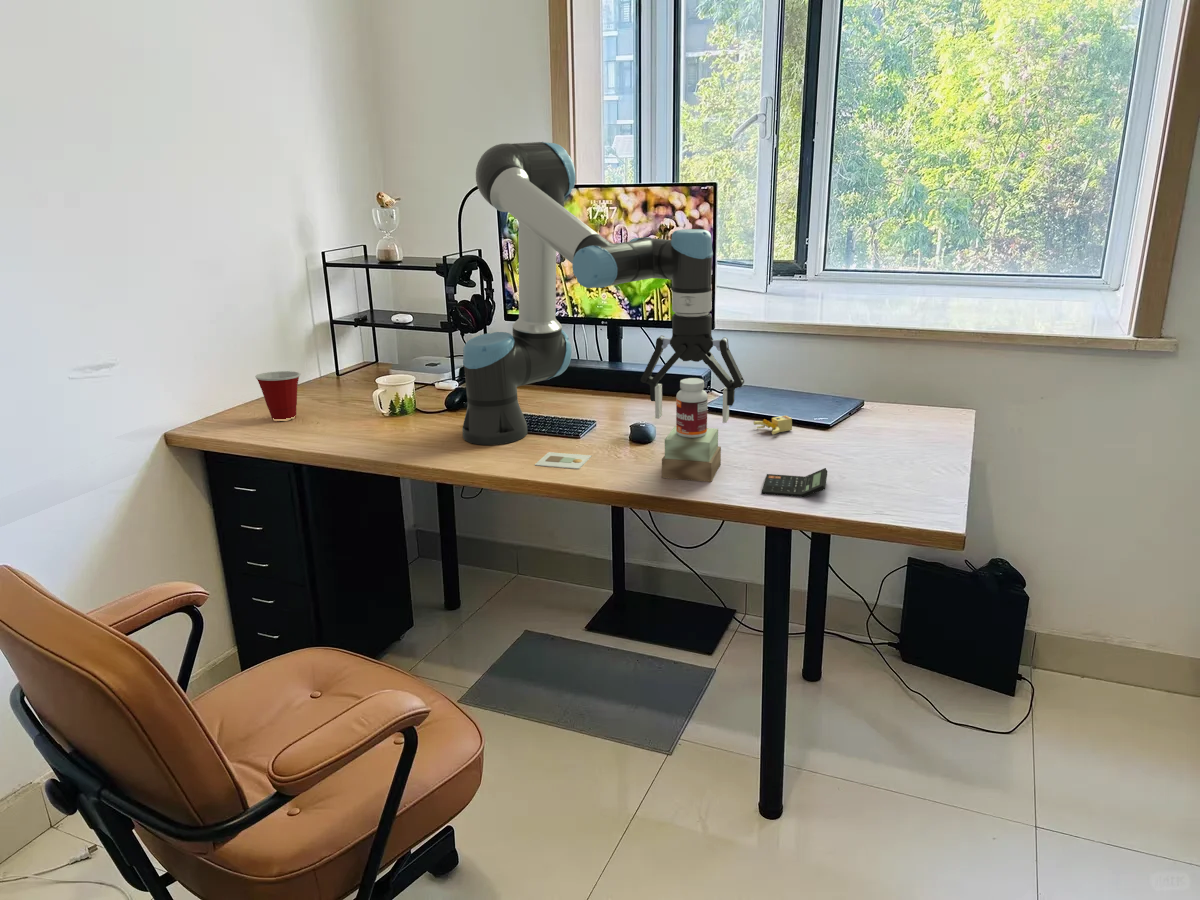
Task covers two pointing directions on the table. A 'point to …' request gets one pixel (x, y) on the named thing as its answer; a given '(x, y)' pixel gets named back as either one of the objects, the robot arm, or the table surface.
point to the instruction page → (563, 460)
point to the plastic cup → (280, 392)
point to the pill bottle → (691, 408)
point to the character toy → (776, 424)
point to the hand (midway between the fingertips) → (691, 418)
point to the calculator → (795, 484)
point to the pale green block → (691, 456)
